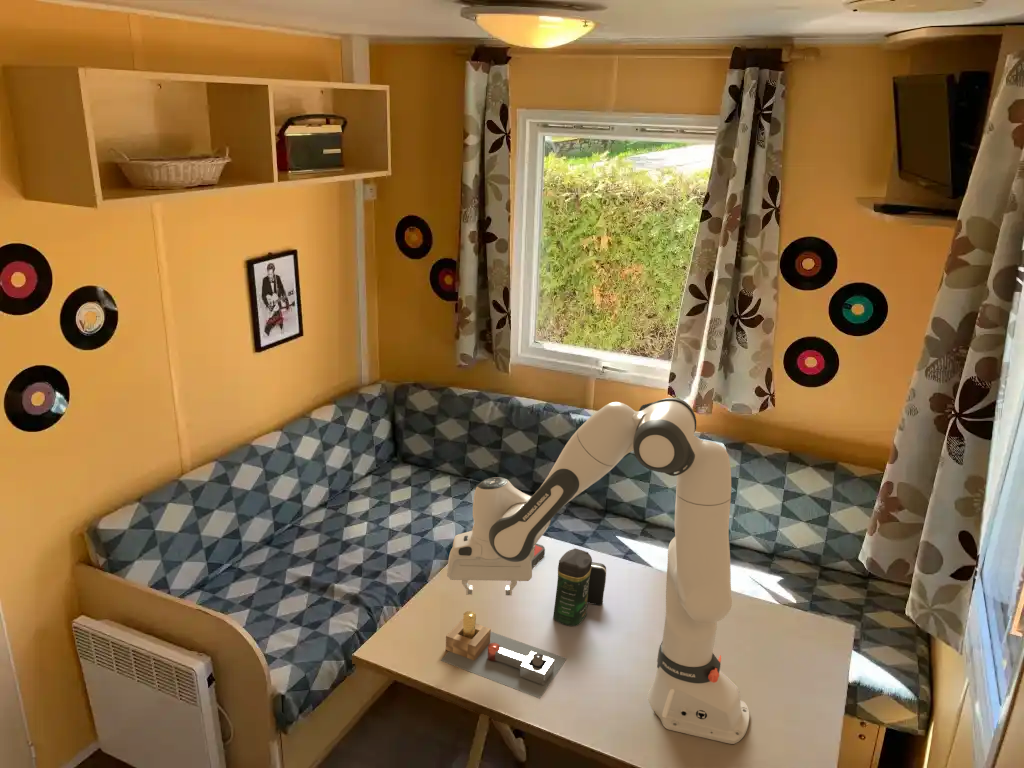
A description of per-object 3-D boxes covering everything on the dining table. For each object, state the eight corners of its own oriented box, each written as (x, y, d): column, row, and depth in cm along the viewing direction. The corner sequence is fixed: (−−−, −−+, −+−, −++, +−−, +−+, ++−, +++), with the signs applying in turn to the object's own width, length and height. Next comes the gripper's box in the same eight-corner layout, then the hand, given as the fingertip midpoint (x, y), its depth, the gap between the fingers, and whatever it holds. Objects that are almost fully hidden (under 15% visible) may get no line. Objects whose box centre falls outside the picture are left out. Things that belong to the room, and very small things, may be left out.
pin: (476, 644, 194) (478, 613, 191) (470, 651, 191) (472, 620, 189) (465, 640, 195) (467, 609, 192) (459, 647, 193) (461, 616, 190)
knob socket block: (553, 670, 186) (554, 659, 185) (543, 685, 181) (544, 674, 180) (493, 648, 193) (494, 637, 192) (482, 662, 187) (482, 651, 186)
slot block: (490, 642, 195) (490, 628, 194) (474, 660, 188) (475, 646, 187) (461, 632, 198) (462, 618, 197) (445, 649, 192) (446, 635, 190)
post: (543, 673, 185) (544, 655, 184) (539, 679, 183) (540, 661, 182) (534, 669, 186) (535, 652, 185) (529, 675, 184) (531, 657, 183)
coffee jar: (577, 631, 202) (583, 568, 197) (549, 621, 206) (554, 559, 200) (590, 612, 211) (596, 551, 205) (563, 603, 214) (568, 542, 208)
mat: (566, 660, 191) (566, 658, 191) (539, 700, 177) (539, 698, 177) (472, 627, 202) (473, 625, 201) (440, 662, 188) (440, 660, 188)
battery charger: (604, 598, 217) (607, 562, 214) (602, 606, 214) (606, 569, 210) (578, 594, 218) (582, 558, 215) (577, 602, 215) (580, 565, 211)
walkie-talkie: (522, 545, 243) (488, 575, 226) (523, 533, 241) (489, 561, 224) (547, 554, 239) (515, 584, 222) (548, 541, 237) (516, 571, 220)
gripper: (534, 537, 188) (531, 587, 193) (448, 535, 187) (447, 585, 192) (535, 550, 182) (532, 602, 187) (447, 549, 181) (446, 600, 186)
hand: (488, 593), depth 189 cm, fingers open, 8 cm apart
